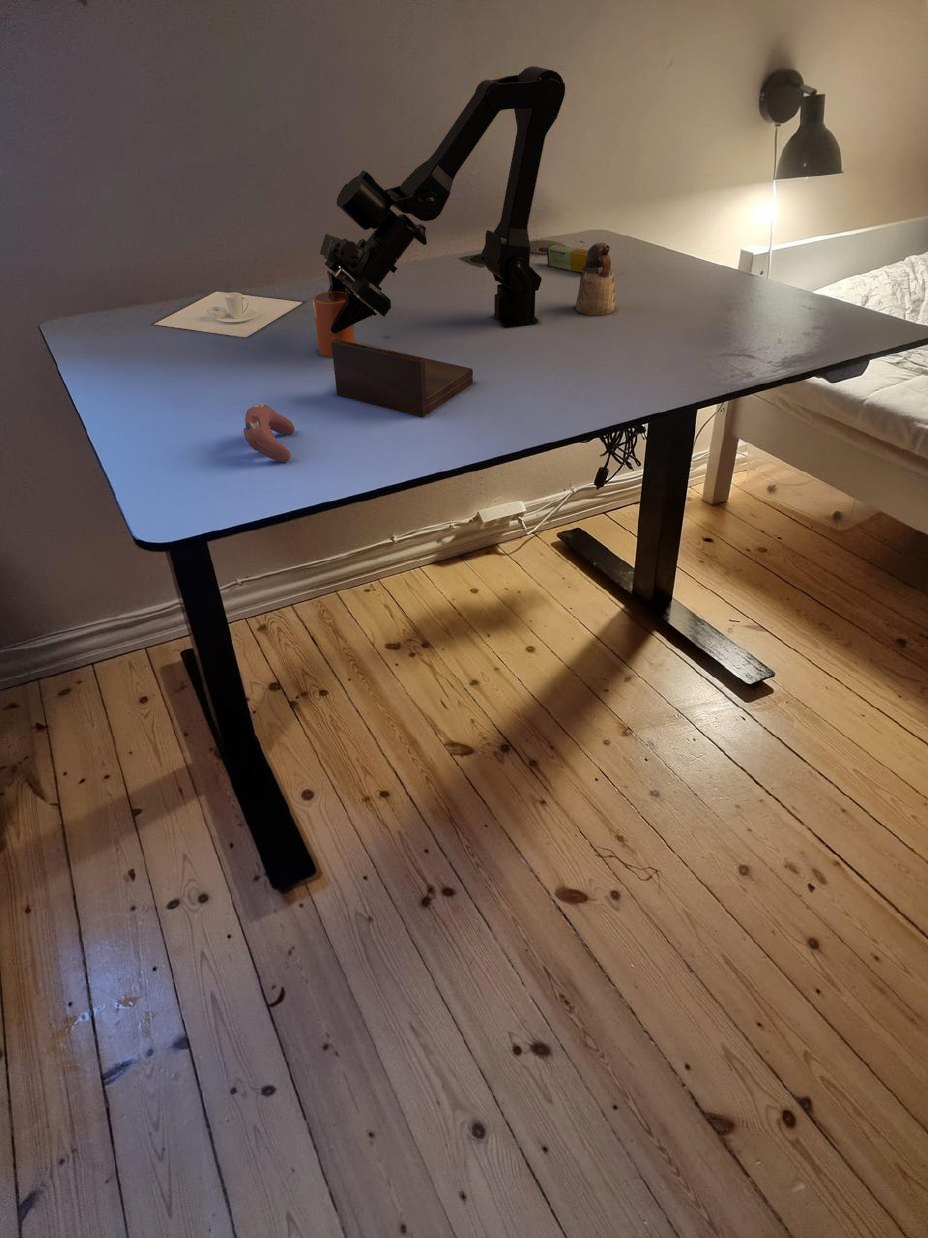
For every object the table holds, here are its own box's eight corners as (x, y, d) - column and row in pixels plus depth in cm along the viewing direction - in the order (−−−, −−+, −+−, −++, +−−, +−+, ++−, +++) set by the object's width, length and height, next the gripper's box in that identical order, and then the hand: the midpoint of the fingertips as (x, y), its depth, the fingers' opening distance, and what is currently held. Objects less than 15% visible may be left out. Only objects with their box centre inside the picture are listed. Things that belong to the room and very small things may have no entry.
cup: (360, 345, 154) (356, 292, 148) (347, 358, 149) (341, 304, 143) (327, 342, 155) (321, 289, 149) (313, 355, 150) (306, 301, 145)
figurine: (604, 301, 170) (609, 235, 162) (621, 312, 164) (627, 245, 157) (570, 305, 168) (574, 239, 161) (586, 317, 163) (590, 249, 155)
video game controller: (271, 442, 128) (242, 403, 124) (298, 428, 127) (269, 387, 123) (265, 475, 120) (233, 434, 116) (293, 460, 119) (262, 418, 115)
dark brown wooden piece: (390, 364, 147) (386, 312, 141) (473, 383, 140) (472, 330, 135) (336, 395, 137) (330, 341, 132) (422, 417, 130) (420, 361, 125)
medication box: (546, 266, 188) (545, 246, 186) (554, 261, 190) (553, 242, 187) (593, 275, 182) (593, 255, 179) (601, 270, 183) (601, 251, 180)
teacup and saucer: (202, 321, 164) (198, 298, 162) (227, 307, 170) (223, 285, 168) (242, 326, 162) (239, 304, 159) (266, 312, 168) (263, 290, 165)
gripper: (330, 202, 147) (274, 279, 150) (366, 228, 133) (303, 313, 137) (379, 246, 154) (324, 319, 158) (417, 275, 141) (357, 354, 144)
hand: (326, 325), depth 149 cm, fingers closed on cup, 6 cm apart
